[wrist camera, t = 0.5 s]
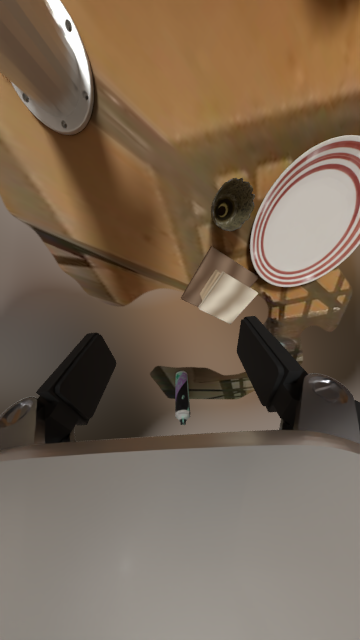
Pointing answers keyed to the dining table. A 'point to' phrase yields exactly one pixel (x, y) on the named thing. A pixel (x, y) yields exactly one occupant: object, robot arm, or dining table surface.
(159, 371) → the dining table surface
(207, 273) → the cream pedestal stand
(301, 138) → the dining table surface
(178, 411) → the spray can
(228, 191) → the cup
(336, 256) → the dinner plate
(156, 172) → the dining table surface
